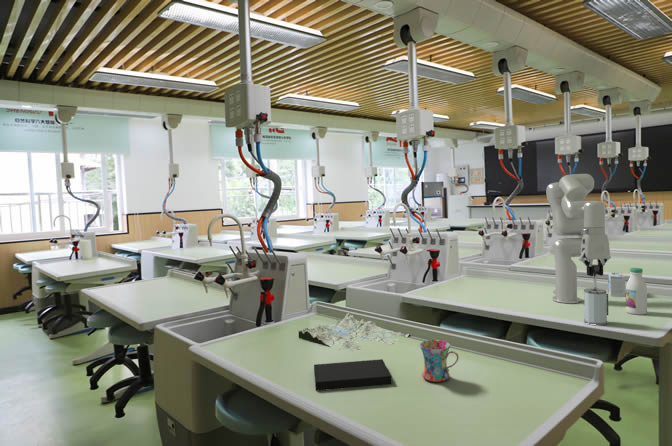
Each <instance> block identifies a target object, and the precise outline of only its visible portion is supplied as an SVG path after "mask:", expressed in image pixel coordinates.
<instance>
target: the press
mask: <svg viewBox="0 0 672 446" xmlns="http://www.w3.org/2000/svg"><path fill="white" fill-rule="evenodd" d="M583 292H584V293H583V294H584V295H583V299H584V300H583V302H584V303H583V304H584V305H583V306H584V310H583V312H584V319H583V323H584V324H586V323H589V324H588V325H590V324H596V325H603V326H607V325H608V316H609V293H608V292H607V290H606V289H603V288H597V291H594V287H593V288H591V287H589V288H584V289H583ZM596 325H595V326H596Z"/></svg>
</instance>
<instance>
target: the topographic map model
mask: <svg viewBox="0 0 672 446" xmlns="http://www.w3.org/2000/svg"><path fill="white" fill-rule="evenodd" d="M403 335H404V336H405V337H406V339H407V338H409V337H411V334H410V333H406V334H404V333H403V332H401V331H399V332H397V331H396V332H395V331H394V330H391V329H390V330H389V329H386V328H382V326H381V327H380V326H378V325H377V323H376V322H375V321H372V320H368V321H366V319H365V318H362V319H361V320H359V319H356V318H355V315H353V314H352V315H351V313H350V312H348V313H346V314H345V316H344V318H342V320H341V321H340V320H336V321H334V323H333V324H331V325H330V324H321V325H320V324H317V326H315V327H314V328H307V327H304V328H301V329H300V330H298V339H301V340H305V341H308V342H310V343H315V344H318V345H321V346H323V347H328V348H332V347H333V345H336V346H338V349H337V350H338V351H340V350H341V351H342V350H343V351H344V350H349V349H350V350H349V352H354V351H360V350H361V348H360V347H362V345H359V341H357V340H361V341H367V342H369V341H372V340H374V341H375V342H378V343H381V344H386V345H387V346H389V345H390V346H391V345H395V343H394V342H396V341H398V342H400V341H401V339H399V338H395V337H396V336H399V337H400V336H403ZM355 338H356V339H357V340H355Z"/></svg>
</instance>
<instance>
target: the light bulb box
mask: <svg viewBox="0 0 672 446" xmlns="http://www.w3.org/2000/svg"><path fill="white" fill-rule="evenodd" d="M607 294H608V296H610V297H613V298H615V297H617V298H618V297H619V298H626V275H625V274H624V273H623V272H607Z"/></svg>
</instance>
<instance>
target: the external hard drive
mask: <svg viewBox="0 0 672 446" xmlns="http://www.w3.org/2000/svg"><path fill="white" fill-rule="evenodd" d="M385 363H386V362H385V361H384V360H383V359H370V360H369V359H367V360H358V361H356V360H355V361H343V362H330V363H316V364H313V373H314V383H315V391H317V390H319V391H327V390H326V389H331V390H340V389H341V388H343V389H352V388H353V389H354V388H365V387H374V386H375V387H376V386H377V387H378V386H388V385H389V386H390V385H392V375H391V373H390V371H389V369H388V367H387V365H386V364H385ZM341 390H342V389H341ZM317 392H318V391H317Z"/></svg>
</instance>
